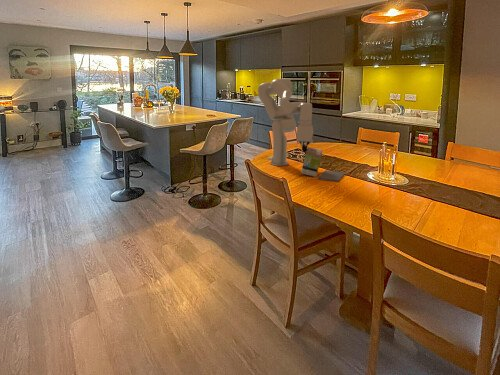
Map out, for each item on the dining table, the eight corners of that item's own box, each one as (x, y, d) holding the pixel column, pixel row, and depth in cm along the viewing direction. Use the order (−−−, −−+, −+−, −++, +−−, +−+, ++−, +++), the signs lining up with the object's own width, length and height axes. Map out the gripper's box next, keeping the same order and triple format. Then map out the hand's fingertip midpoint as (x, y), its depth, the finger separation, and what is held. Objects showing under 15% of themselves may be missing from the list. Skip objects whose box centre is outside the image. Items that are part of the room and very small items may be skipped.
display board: (317, 178, 213) (317, 177, 213) (325, 171, 228) (325, 170, 228) (337, 182, 208) (338, 180, 207) (345, 174, 223) (345, 172, 222)
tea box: (316, 177, 217) (322, 155, 211) (300, 173, 218) (306, 151, 213) (316, 170, 231) (322, 149, 225) (302, 167, 232) (307, 146, 227)
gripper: (292, 123, 216) (291, 151, 222) (314, 124, 209) (313, 153, 215) (296, 121, 222) (295, 149, 228) (318, 122, 215) (317, 151, 221)
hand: (304, 151), depth 221 cm, fingers closed
